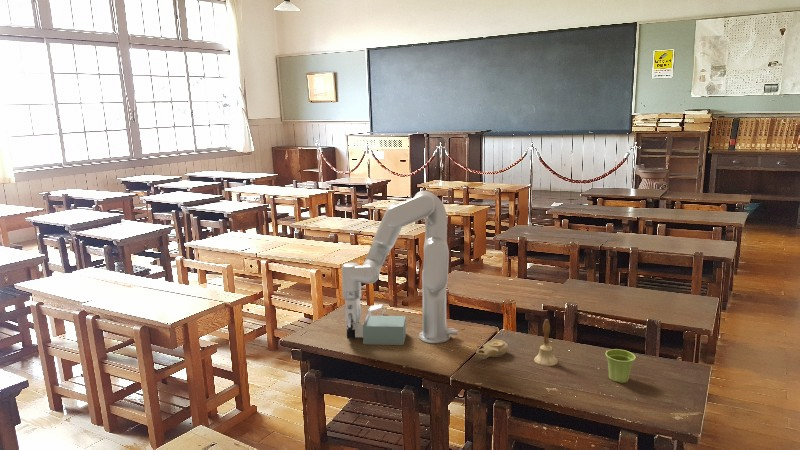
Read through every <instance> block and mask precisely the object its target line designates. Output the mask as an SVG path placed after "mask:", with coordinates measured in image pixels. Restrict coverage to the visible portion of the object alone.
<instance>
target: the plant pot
mask: <svg viewBox="0 0 800 450" xmlns="http://www.w3.org/2000/svg"><path fill="white" fill-rule="evenodd" d="M604 355H605V357H606V360H607V368H608V369H607V370H608V378H609V379H610V380H611V381H612V382H618V383H620V384H622V383H627V382H628V381H629V378H630V374H631V369H632V366H633V364H634V362H635V360H636V355H635V354H634V352H633V353H632V352H630V351H628V350H625V349H618V348H614V349H609V350H606V352H605V354H604Z"/></svg>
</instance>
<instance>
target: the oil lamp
mask: <svg viewBox="0 0 800 450" xmlns="http://www.w3.org/2000/svg"><path fill="white" fill-rule="evenodd" d="M481 347H482V348H476V350H475V355H476V356H477V357H478V358H479V359H488V358H489V357H492V358H499V357H502V356H503V355H504V354H506V353H507V351H508V350H509V345H508V343H507V342H505V341H504V340H501V339H490V340H489V341H487V342H486V343H485V344H482V346H481Z"/></svg>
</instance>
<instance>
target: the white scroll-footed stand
mask: <svg viewBox="0 0 800 450" xmlns="http://www.w3.org/2000/svg"><path fill="white" fill-rule="evenodd" d="M382 308H383V309H382ZM379 310H381V312H382V313H381V314H380V316H385V315H384V313H386V312H387V309H386V308H385V306H384V304H382V303H381V304H375V305H370V306H369V308H368V309H367V312H368V313H367V315H368V314H369V315H370V316H372V313H373V312H377V311H379ZM367 315H366V316H365V318H366V317H367Z"/></svg>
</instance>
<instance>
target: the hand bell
mask: <svg viewBox="0 0 800 450" xmlns="http://www.w3.org/2000/svg"><path fill="white" fill-rule="evenodd" d="M542 331H543V336H544V337H543V344H542V345H540V346H539V349H538V350H539V351H538V354H537V355H536V356H535V357H534V359H533V361H534V362H535V363H536V364H537V365H540V366H543V367H546V366H547V367H550V366H551V367H553V366H555V365H557V364H558V359H557V358H556V356H555V355H554V350H553V347H552V346H551V345H550V343H549V339H550V337H549V335H550V333H551V325H550V321H549V319H548V318H546V319H544V322H543V324H542Z"/></svg>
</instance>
